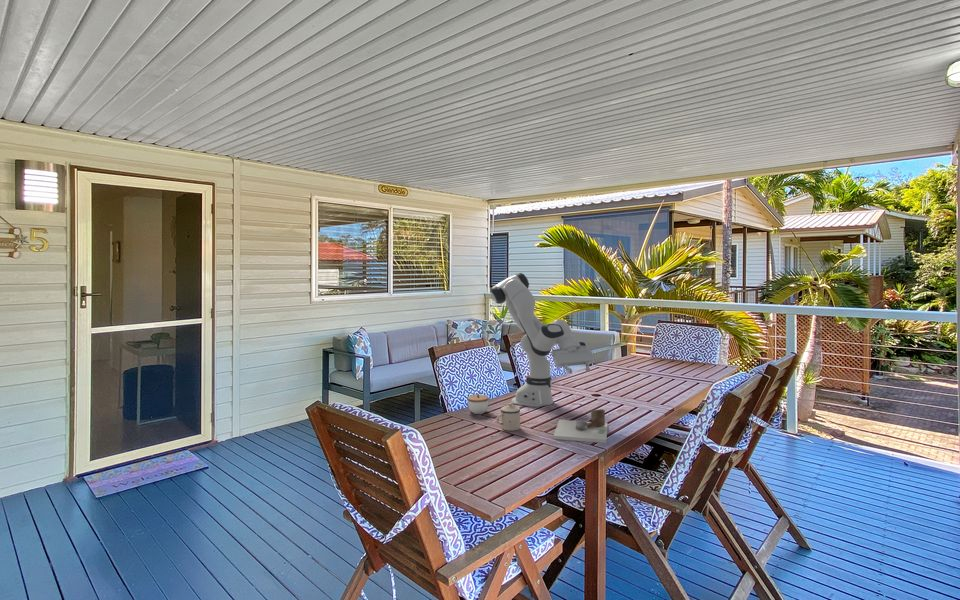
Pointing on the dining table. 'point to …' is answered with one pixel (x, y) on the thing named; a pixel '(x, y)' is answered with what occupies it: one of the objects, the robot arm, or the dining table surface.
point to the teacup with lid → (509, 417)
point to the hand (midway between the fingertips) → (579, 371)
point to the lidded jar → (478, 403)
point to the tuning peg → (592, 420)
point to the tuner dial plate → (580, 432)
